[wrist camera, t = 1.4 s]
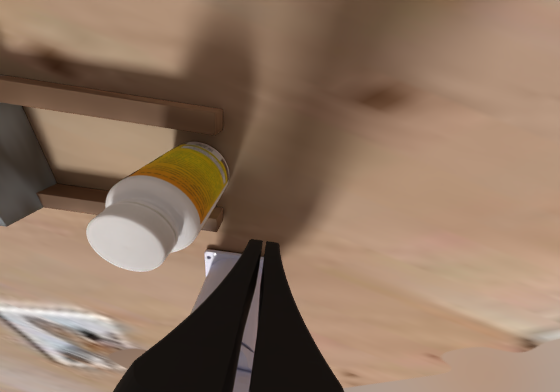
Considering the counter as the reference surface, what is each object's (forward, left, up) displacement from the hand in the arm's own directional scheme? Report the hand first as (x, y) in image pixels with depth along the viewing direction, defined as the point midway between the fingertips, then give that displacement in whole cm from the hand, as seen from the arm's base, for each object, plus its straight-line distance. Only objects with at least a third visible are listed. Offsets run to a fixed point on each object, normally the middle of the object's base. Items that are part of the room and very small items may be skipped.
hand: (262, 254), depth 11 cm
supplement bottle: (0, +7, -10) cm, 12 cm away
